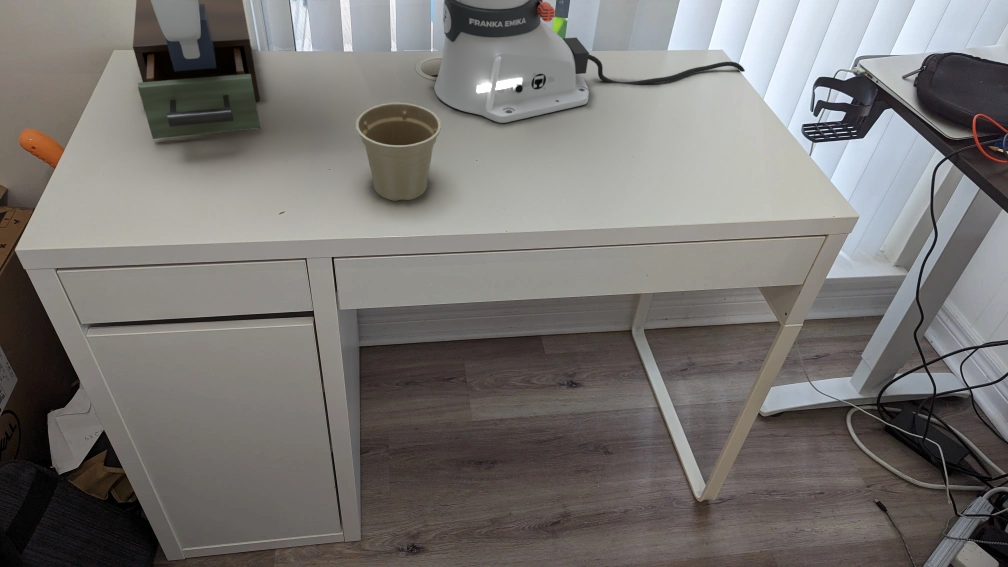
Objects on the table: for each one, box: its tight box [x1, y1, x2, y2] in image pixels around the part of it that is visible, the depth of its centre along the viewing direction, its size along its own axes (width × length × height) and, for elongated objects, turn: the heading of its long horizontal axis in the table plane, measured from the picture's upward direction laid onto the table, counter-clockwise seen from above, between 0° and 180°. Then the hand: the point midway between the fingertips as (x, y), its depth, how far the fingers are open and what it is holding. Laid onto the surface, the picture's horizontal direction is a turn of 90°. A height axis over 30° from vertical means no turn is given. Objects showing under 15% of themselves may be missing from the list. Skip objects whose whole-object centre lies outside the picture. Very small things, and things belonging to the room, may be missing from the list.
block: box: [166, 4, 216, 71], centre depth 87 cm, size 5×5×6 cm
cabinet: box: [132, 0, 261, 102], centre depth 99 cm, size 16×14×9 cm
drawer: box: [137, 46, 261, 140], centre depth 91 cm, size 20×13×7 cm, turn 19°
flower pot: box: [355, 102, 442, 202], centre depth 83 cm, size 9×9×9 cm
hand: (191, 44), depth 88 cm, fingers closed on block, 5 cm apart
